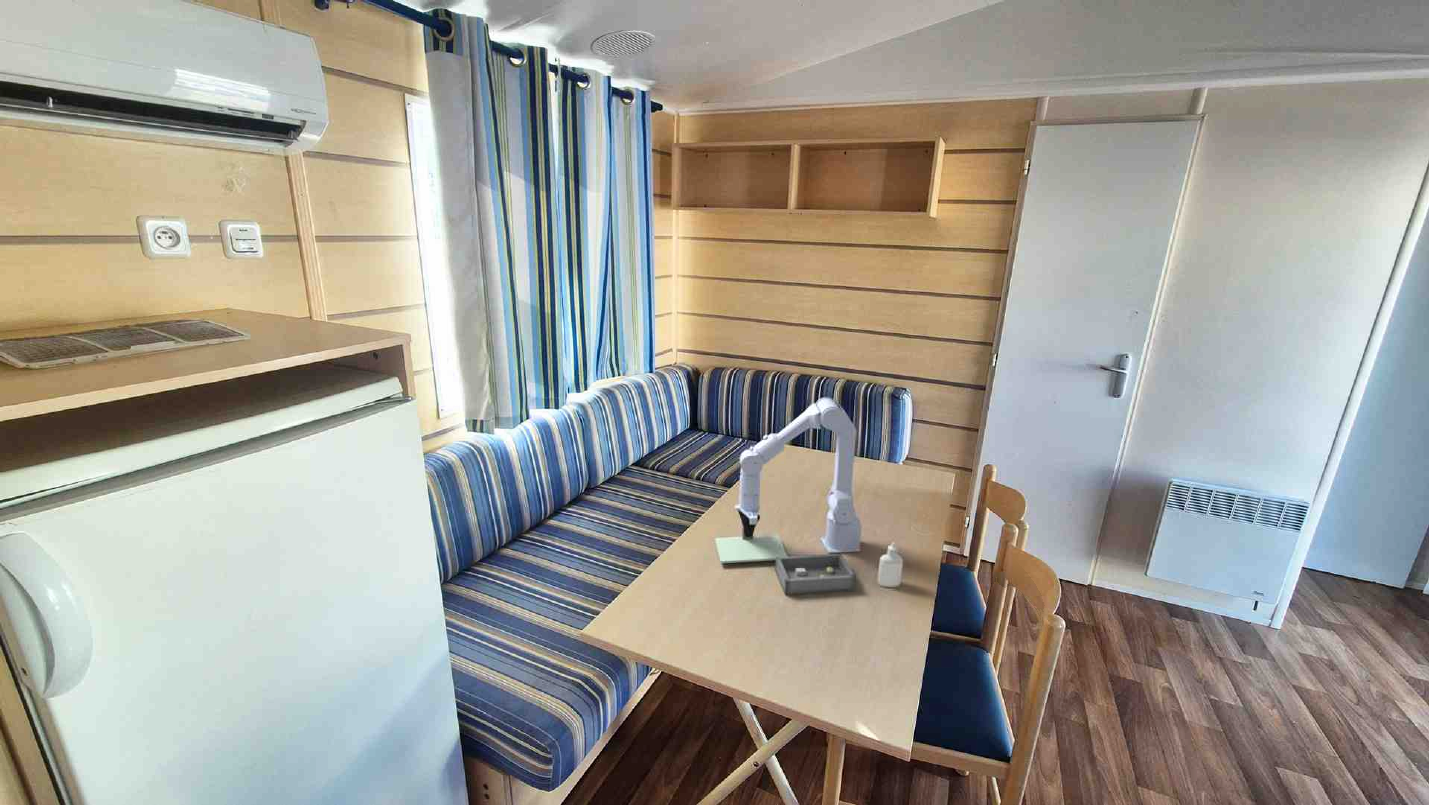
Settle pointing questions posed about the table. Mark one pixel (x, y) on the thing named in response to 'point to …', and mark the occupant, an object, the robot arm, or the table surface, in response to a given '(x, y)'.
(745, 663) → the table surface
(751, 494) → the robot arm
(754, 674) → the table surface
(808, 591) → the parts tub
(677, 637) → the table surface
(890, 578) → the eye dropper bottle
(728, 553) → the tub lid
